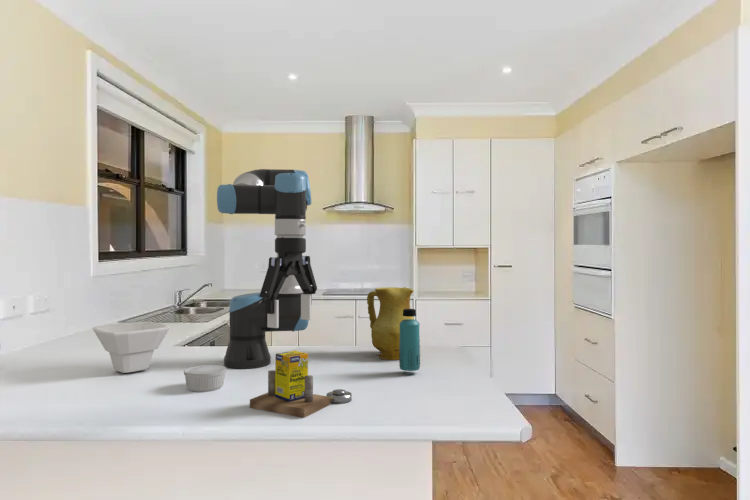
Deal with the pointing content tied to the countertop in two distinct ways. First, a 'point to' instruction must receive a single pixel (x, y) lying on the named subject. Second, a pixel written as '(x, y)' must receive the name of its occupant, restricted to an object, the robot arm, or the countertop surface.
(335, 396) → the metal knobbed disc
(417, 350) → the beverage bottle
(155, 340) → the bowl
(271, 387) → the peg rack
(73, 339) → the countertop surface
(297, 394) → the supplement box
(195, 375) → the ramekin
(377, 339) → the pitcher
